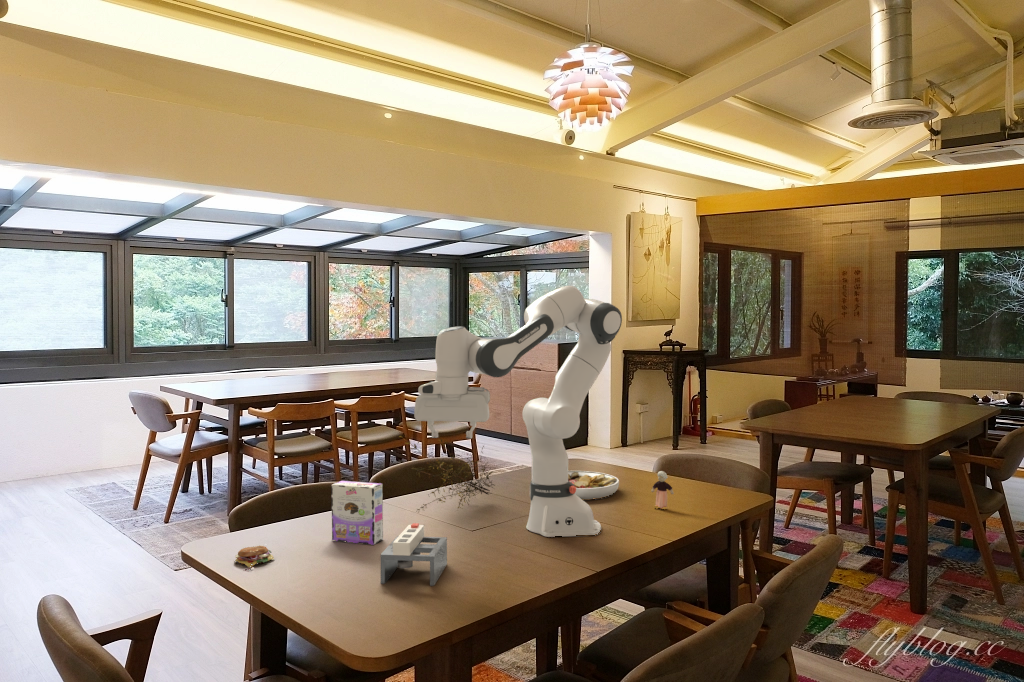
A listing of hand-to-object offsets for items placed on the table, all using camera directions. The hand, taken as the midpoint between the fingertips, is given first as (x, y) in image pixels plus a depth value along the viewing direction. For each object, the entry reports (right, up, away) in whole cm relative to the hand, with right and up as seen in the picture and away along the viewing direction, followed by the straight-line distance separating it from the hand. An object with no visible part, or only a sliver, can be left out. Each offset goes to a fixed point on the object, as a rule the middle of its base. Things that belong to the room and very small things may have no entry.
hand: (452, 437), depth 192 cm
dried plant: (-2, -30, +36) cm, 48 cm away
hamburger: (-51, -32, -8) cm, 61 cm away
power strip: (-9, -28, -16) cm, 34 cm away
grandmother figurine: (+66, -30, +45) cm, 85 cm away
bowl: (+40, -30, +69) cm, 85 cm away
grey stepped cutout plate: (-8, -32, -16) cm, 36 cm away
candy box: (-28, -31, +11) cm, 43 cm away
